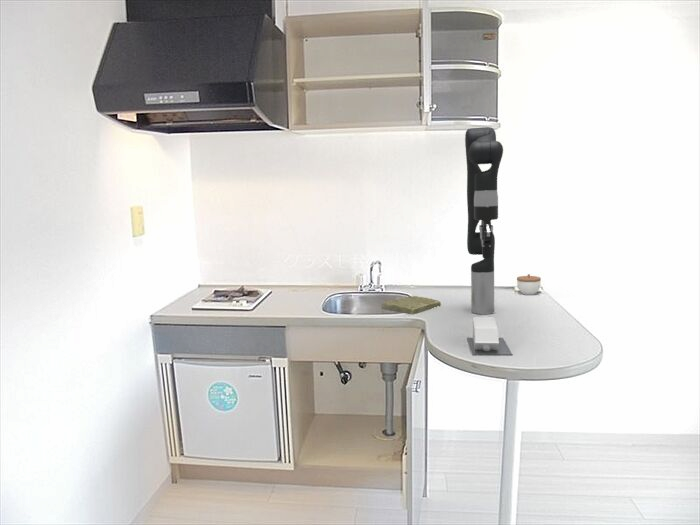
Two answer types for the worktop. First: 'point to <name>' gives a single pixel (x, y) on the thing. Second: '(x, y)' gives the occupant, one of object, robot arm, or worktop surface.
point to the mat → (501, 350)
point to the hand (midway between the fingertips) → (486, 257)
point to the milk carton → (485, 333)
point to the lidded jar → (528, 284)
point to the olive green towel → (410, 304)
